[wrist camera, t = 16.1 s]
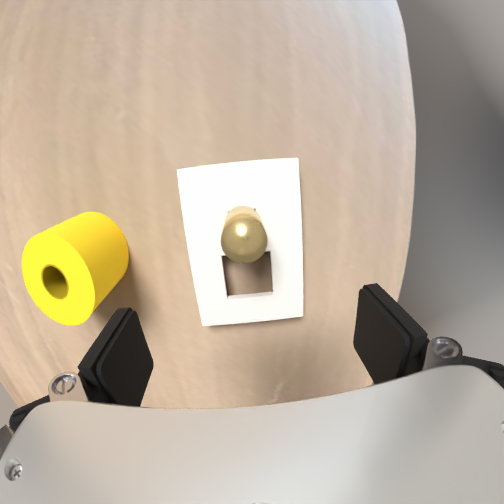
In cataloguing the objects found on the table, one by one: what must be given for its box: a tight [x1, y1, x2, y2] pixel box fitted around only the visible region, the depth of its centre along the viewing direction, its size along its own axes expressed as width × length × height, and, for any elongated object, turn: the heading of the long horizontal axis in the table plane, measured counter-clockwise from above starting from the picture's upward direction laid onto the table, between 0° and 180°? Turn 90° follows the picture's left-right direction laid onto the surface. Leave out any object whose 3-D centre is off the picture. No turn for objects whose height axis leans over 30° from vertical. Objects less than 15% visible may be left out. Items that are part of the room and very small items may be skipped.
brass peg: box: [221, 206, 268, 263], centre depth 25 cm, size 4×4×9 cm
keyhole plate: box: [177, 158, 303, 326], centre depth 29 cm, size 18×12×2 cm, turn 5°
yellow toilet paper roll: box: [22, 212, 129, 325], centre depth 26 cm, size 10×10×9 cm
